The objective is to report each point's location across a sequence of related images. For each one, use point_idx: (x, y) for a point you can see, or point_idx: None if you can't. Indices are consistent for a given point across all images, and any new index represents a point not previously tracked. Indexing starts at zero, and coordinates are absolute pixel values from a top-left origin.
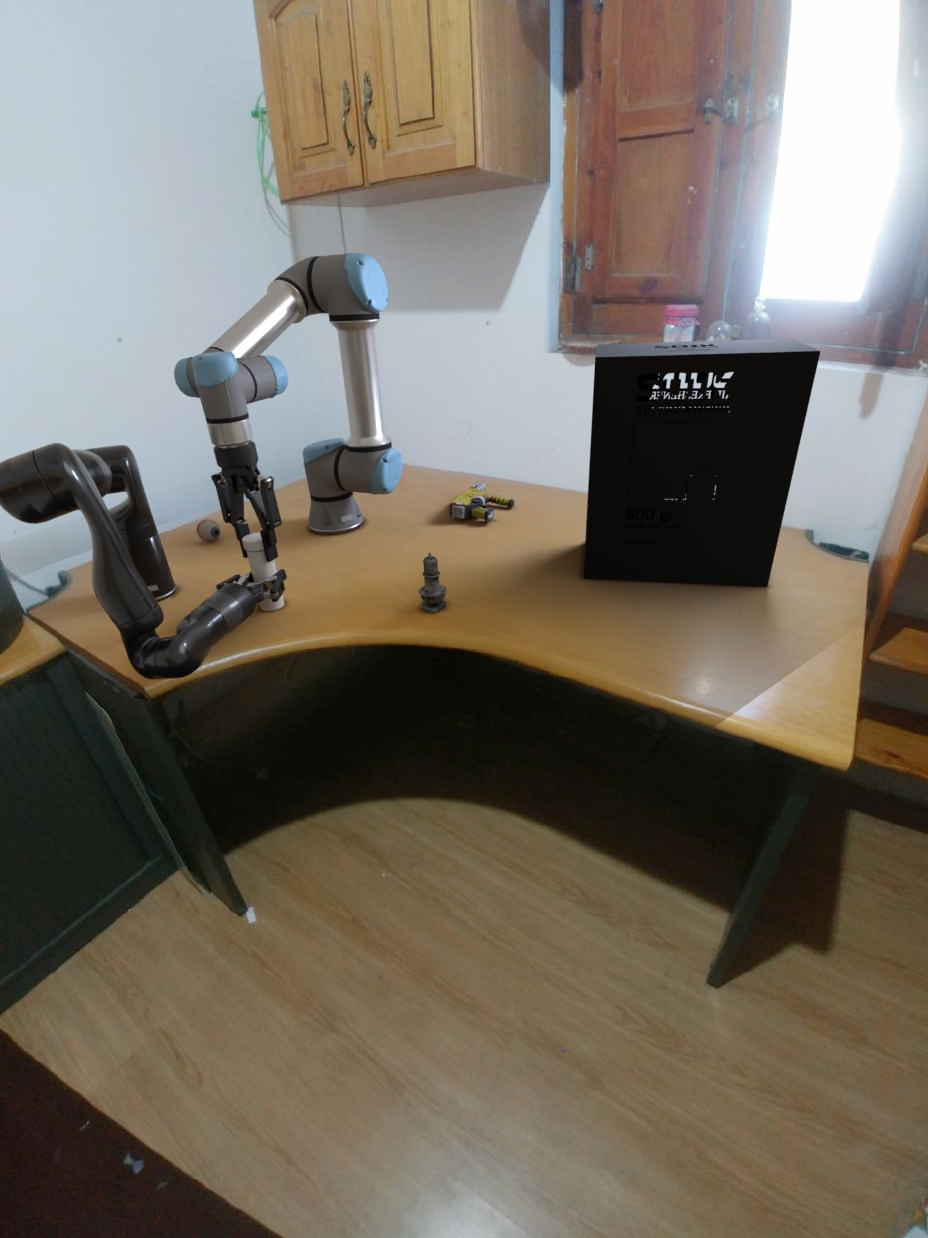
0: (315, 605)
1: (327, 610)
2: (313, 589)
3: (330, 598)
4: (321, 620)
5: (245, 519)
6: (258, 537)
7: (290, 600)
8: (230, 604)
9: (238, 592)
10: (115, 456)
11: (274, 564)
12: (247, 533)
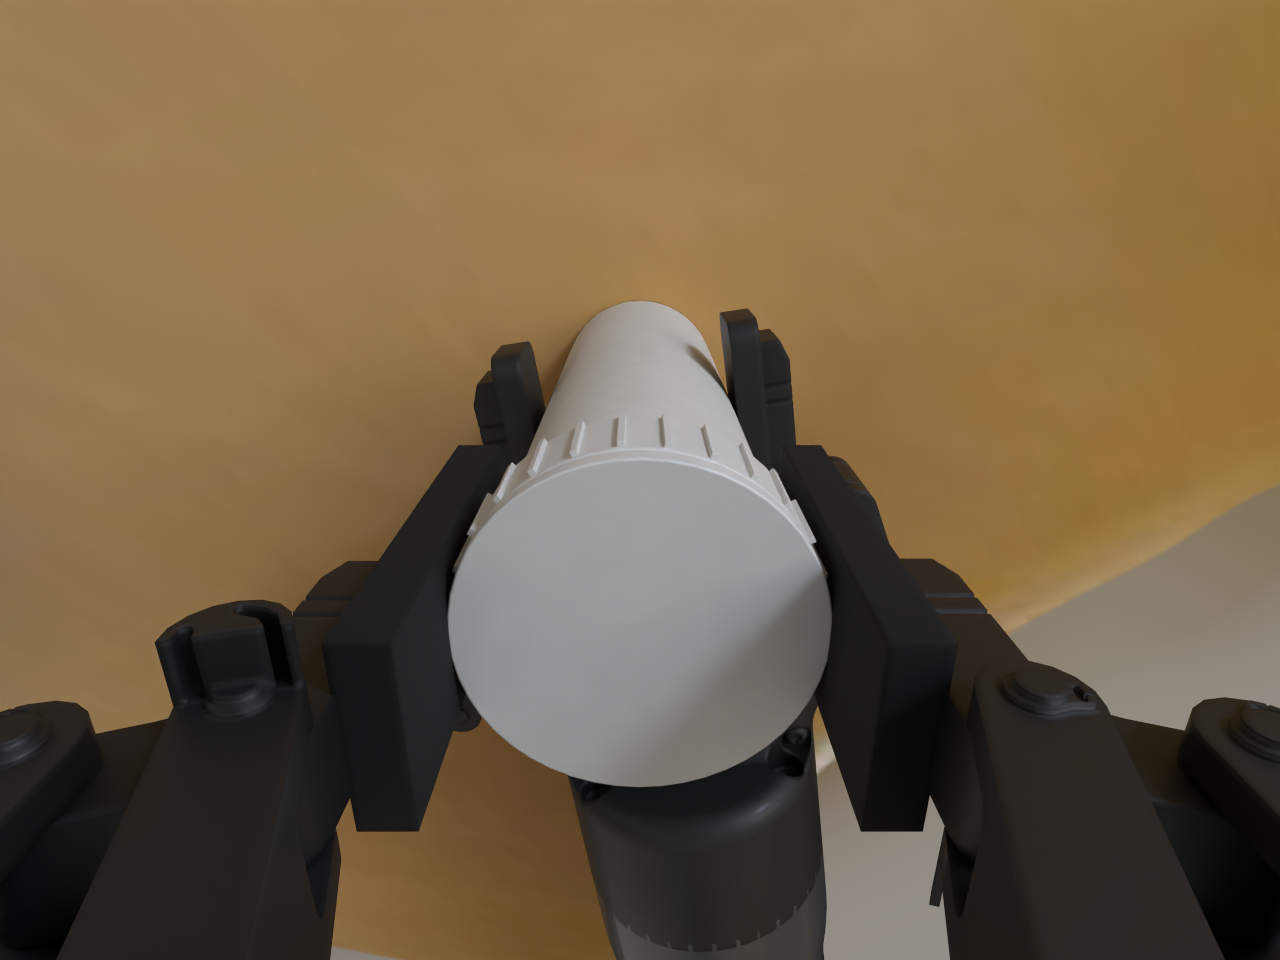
0: (915, 277)
1: (1026, 308)
2: (772, 62)
3: (972, 151)
4: (1041, 422)
5: (257, 626)
6: (680, 637)
7: (708, 274)
8: (812, 938)
9: (787, 869)
10: None
11: (744, 435)
12: (441, 616)
